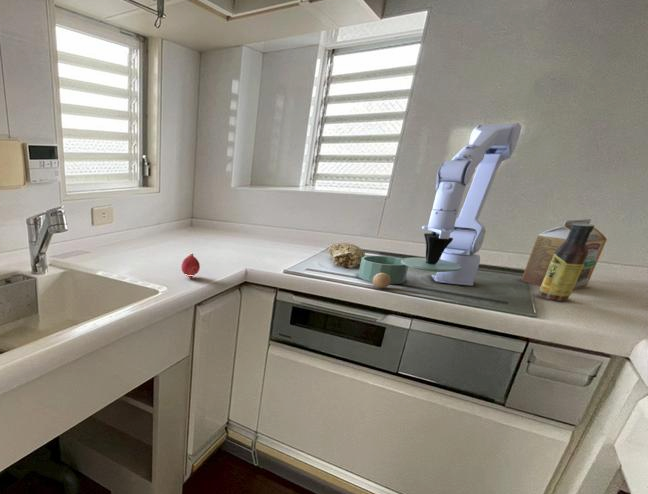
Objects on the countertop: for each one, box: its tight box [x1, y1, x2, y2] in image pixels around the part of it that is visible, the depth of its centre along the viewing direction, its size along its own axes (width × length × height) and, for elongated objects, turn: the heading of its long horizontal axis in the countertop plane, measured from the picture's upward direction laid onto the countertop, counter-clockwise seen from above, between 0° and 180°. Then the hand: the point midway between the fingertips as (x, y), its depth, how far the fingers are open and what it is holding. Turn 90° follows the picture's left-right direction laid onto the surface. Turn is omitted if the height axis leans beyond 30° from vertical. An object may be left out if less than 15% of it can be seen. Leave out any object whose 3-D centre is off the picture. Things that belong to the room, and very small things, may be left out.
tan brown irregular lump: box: [327, 242, 366, 269], centre depth 147 cm, size 13×8×20 cm
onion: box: [181, 252, 201, 279], centre depth 128 cm, size 6×6×8 cm
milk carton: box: [520, 218, 608, 290], centre depth 118 cm, size 11×11×19 cm
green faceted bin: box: [357, 255, 409, 285], centre depth 127 cm, size 13×13×6 cm
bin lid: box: [401, 255, 462, 273], centre depth 109 cm, size 14×14×5 cm
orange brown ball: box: [372, 273, 391, 289], centre depth 118 cm, size 5×5×5 cm
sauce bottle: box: [538, 223, 595, 302], centre depth 105 cm, size 6×6×20 cm
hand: (431, 261), depth 110 cm, fingers closed on bin lid, 2 cm apart
